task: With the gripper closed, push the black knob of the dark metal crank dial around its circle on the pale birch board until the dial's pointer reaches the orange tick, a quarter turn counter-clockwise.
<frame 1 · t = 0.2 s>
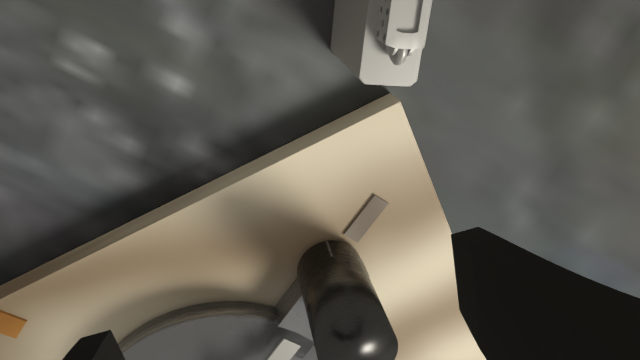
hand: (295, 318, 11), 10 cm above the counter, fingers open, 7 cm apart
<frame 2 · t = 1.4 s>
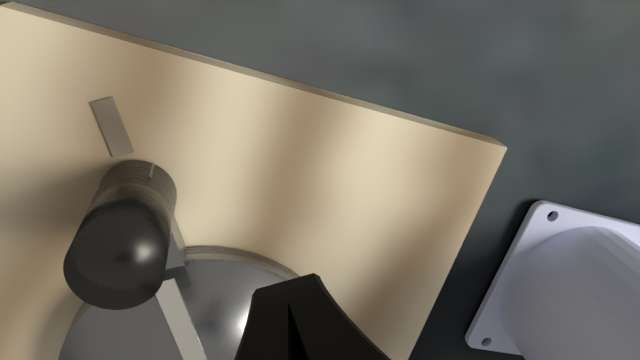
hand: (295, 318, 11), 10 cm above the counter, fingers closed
board: (206, 338, 23), on the counter
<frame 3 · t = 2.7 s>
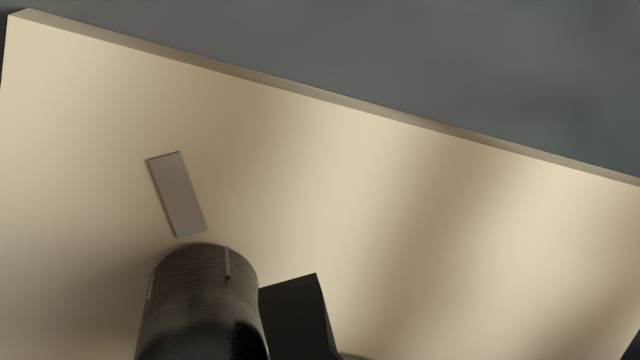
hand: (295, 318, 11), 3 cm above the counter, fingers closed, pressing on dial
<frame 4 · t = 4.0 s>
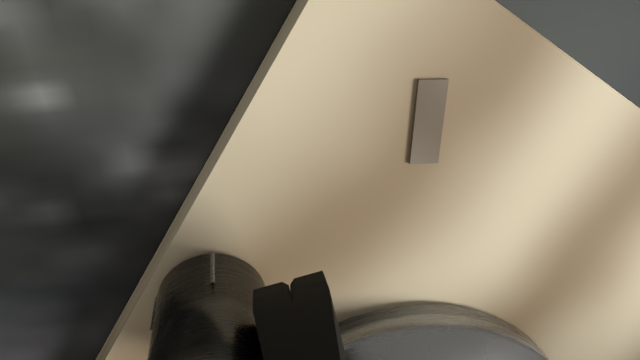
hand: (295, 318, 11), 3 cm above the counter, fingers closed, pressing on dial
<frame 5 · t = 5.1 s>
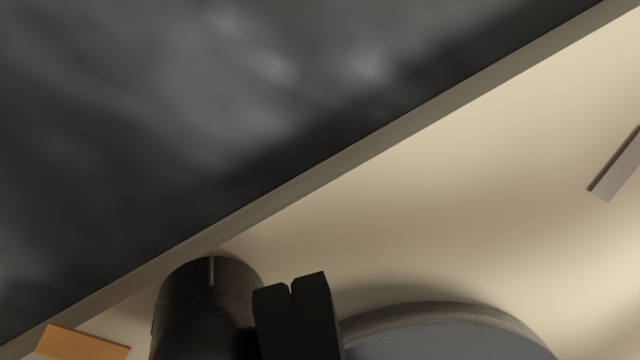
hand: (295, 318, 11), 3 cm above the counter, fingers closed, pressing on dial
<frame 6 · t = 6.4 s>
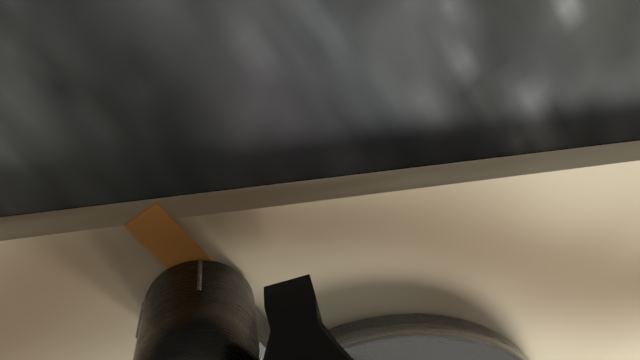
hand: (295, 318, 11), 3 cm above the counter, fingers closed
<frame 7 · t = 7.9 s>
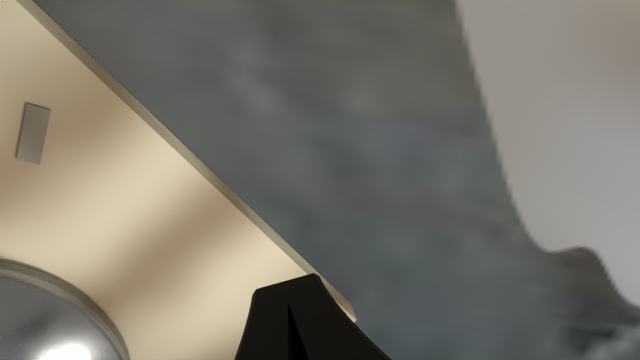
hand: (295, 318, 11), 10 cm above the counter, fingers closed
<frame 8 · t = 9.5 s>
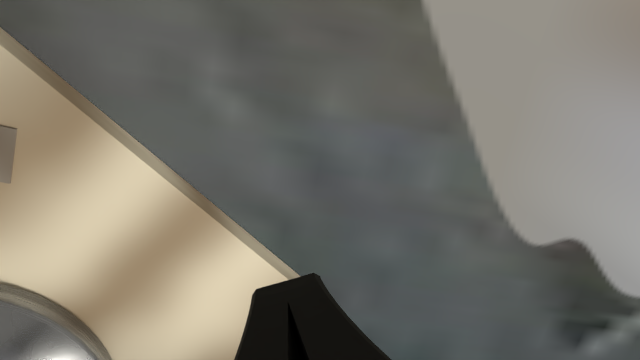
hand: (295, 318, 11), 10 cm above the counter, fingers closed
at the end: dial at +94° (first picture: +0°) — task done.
